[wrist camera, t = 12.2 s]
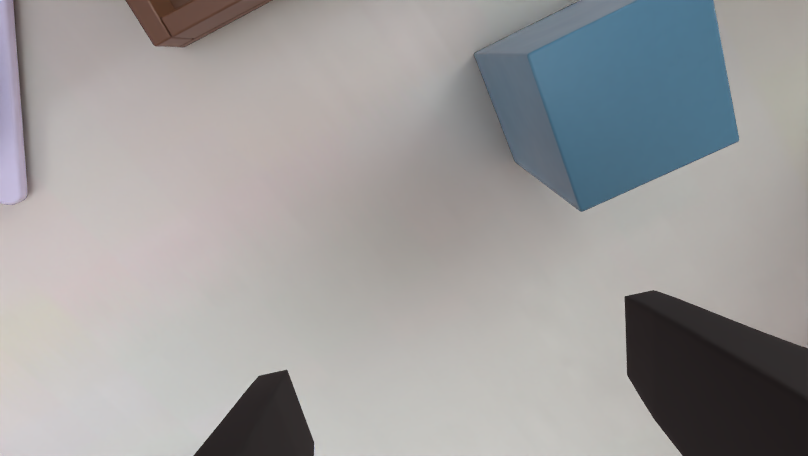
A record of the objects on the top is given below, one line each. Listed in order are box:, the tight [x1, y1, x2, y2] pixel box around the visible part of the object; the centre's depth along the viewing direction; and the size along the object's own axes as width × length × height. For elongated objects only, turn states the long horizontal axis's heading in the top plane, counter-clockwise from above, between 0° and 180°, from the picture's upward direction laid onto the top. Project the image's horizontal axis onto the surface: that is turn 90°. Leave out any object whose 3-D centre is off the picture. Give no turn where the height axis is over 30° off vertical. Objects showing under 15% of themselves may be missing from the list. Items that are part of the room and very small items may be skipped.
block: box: [474, 0, 739, 212], centre depth 14 cm, size 4×4×6 cm
